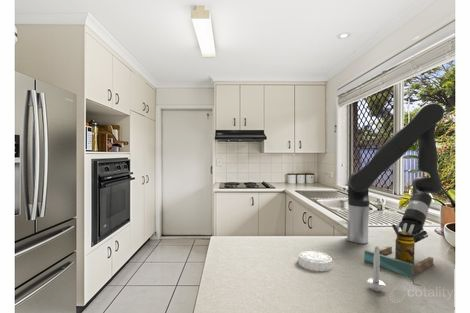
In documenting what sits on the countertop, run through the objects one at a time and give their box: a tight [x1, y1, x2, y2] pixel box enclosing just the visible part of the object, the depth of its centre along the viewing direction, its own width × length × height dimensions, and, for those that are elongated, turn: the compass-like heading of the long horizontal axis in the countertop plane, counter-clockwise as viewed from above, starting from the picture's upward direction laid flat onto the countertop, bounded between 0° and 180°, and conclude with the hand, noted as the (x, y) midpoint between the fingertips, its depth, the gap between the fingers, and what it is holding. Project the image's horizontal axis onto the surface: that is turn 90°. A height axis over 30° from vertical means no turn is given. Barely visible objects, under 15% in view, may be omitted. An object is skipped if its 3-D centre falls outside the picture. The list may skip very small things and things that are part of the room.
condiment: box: [394, 230, 416, 265], centre depth 100 cm, size 7×8×12 cm
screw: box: [366, 246, 386, 292], centre depth 79 cm, size 13×5×5 cm
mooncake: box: [297, 250, 333, 272], centre depth 97 cm, size 12×12×4 cm
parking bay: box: [363, 245, 434, 278], centre depth 101 cm, size 20×16×4 cm
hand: (402, 248), depth 103 cm, fingers closed
